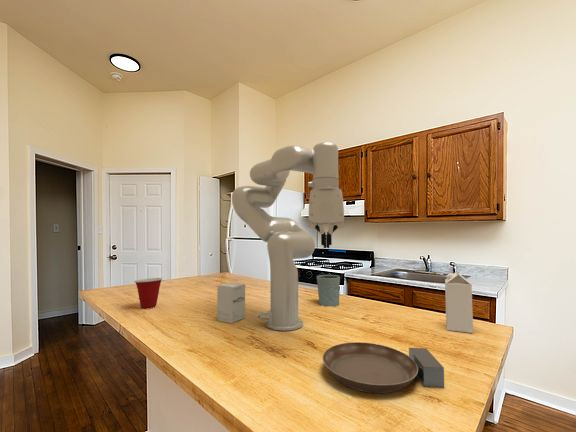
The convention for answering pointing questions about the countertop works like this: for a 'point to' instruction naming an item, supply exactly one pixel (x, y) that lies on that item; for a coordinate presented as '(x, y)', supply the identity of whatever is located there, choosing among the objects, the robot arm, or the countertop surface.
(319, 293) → the grey green tapered pot
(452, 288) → the milk carton
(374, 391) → the plant saucer
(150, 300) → the plastic cup
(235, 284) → the supplement box
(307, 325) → the countertop surface
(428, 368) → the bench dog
